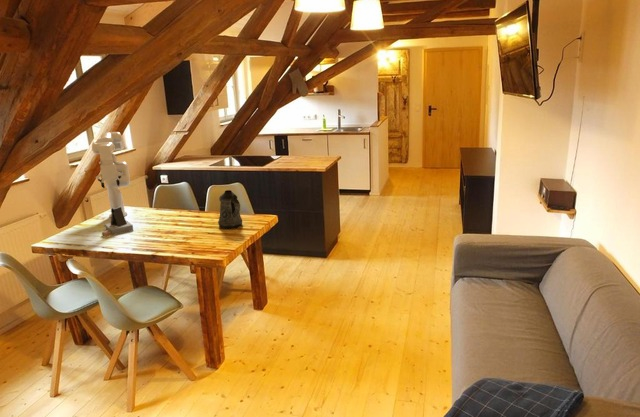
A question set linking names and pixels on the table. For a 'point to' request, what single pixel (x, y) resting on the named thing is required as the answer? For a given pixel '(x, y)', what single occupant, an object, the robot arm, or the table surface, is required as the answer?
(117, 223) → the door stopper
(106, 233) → the walnut offcut
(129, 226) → the stand
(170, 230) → the table surface
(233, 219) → the dark grey upright piece
